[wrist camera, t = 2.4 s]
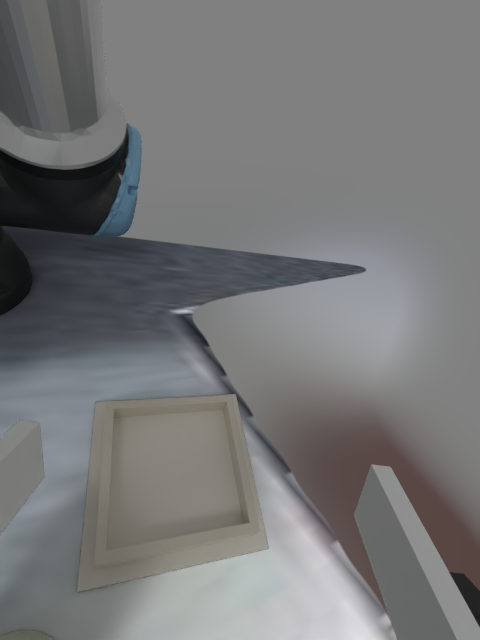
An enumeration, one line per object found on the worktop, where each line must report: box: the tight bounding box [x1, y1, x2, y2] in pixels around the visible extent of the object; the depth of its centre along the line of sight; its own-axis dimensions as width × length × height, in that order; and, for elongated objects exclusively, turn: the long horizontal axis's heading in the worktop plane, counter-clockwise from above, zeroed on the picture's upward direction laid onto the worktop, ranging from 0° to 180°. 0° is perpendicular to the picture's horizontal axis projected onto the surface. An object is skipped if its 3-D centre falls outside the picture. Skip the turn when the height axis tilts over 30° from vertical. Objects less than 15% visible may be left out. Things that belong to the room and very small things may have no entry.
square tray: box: [77, 394, 269, 593], centre depth 31 cm, size 16×16×2 cm
